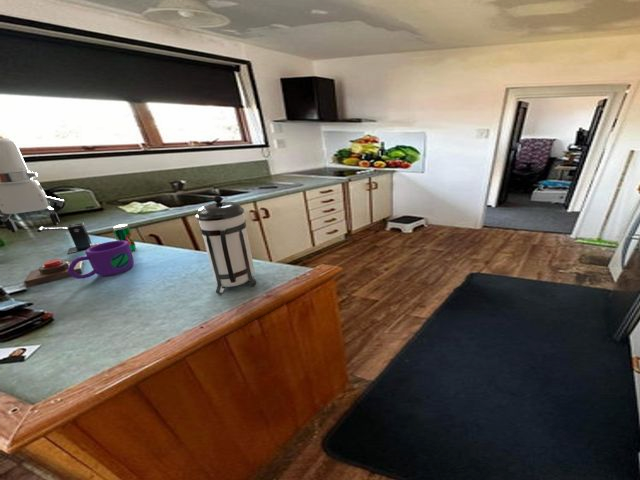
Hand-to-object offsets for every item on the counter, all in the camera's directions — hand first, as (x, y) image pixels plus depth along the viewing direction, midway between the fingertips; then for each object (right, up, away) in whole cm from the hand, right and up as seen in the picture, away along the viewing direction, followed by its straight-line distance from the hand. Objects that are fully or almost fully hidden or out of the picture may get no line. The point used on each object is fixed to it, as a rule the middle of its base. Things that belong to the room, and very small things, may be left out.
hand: (36, 227), depth 94 cm
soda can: (+9, -11, +24) cm, 28 cm away
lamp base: (0, -17, +6) cm, 18 cm away
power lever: (-17, -2, +21) cm, 27 cm away
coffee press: (+72, -19, -3) cm, 74 cm away
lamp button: (0, -14, +5) cm, 15 cm away
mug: (+19, -17, +5) cm, 26 cm away
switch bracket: (-13, -10, +28) cm, 32 cm away
